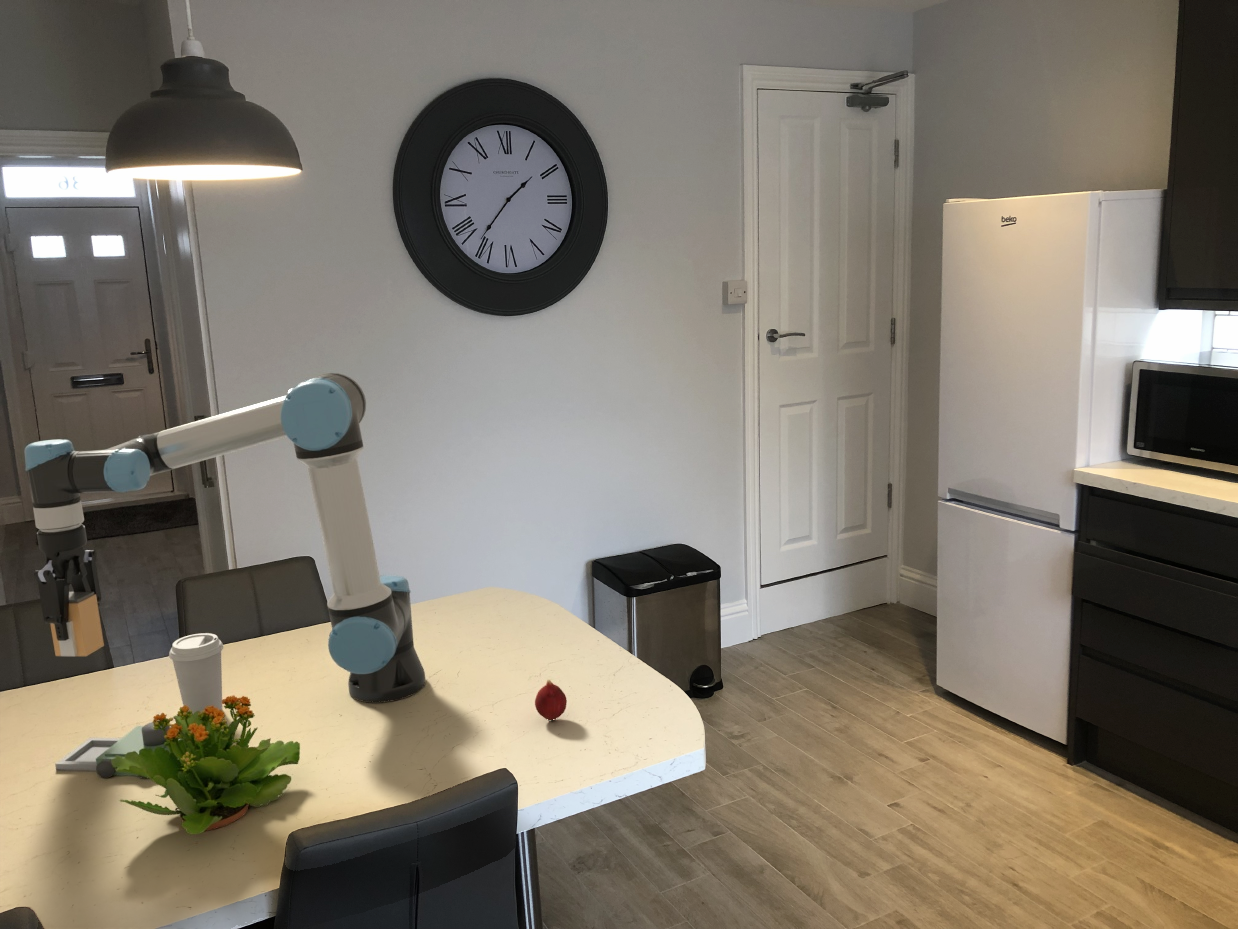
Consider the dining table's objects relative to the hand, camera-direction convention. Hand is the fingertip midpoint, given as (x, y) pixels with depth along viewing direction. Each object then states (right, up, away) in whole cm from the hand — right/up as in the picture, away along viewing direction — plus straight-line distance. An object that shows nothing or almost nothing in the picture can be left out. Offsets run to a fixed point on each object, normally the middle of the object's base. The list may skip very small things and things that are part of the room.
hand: (79, 649), depth 174 cm
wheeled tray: (+12, -18, -7) cm, 23 cm away
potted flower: (+35, -21, -27) cm, 49 cm away
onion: (+86, -14, +2) cm, 88 cm away
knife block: (0, 0, 0) cm, 0 cm away
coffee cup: (+19, -15, +9) cm, 26 cm away
